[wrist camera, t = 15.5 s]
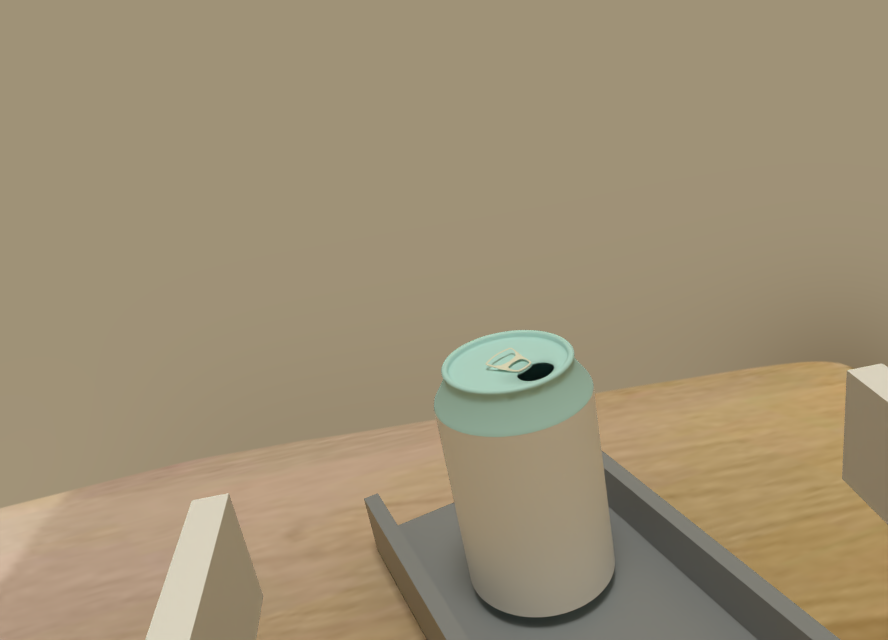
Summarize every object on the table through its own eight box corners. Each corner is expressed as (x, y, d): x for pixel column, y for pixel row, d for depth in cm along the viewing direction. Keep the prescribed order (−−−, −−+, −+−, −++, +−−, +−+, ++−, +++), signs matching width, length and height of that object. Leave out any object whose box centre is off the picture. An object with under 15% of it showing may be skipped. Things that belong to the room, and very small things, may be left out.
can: (612, 523, 41) (586, 314, 36) (621, 626, 34) (592, 389, 30) (479, 531, 42) (438, 331, 38) (464, 631, 36) (413, 405, 31)
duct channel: (559, 877, 26) (545, 808, 25) (377, 549, 44) (364, 498, 42) (842, 710, 30) (843, 642, 29) (570, 469, 48) (563, 420, 46)
